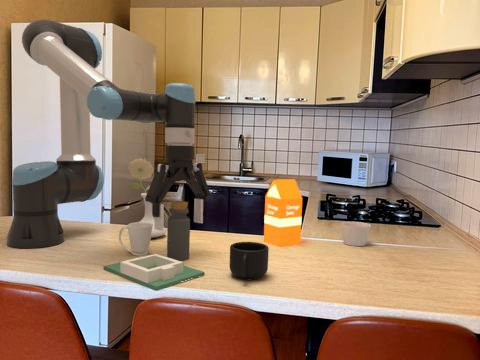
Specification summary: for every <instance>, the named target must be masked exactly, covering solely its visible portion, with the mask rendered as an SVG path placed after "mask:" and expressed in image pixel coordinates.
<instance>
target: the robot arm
mask: <svg viewBox="0 0 480 360" xmlns="http://www.w3.org/2000/svg"><path fill="white" fill-rule="evenodd" d="M21 43H22V48H23V50H24V52H25V53H26V54H27V55H28V57H30V58H31V59H32V60H33V61H34V62H35V63H37V64H38V65H40V66H46V67H47V68H48V69H49V70H51V71H52V72H53V74H55V75H57V77H59V103H60V105H59V106H60V107H59V108H60V111H59V112H60V143H61V144H60V146H61V151H60V152H61V154H60V155H59V156H58V157H57V158H56V161H49V160H48V161H39V162H38V161H35V162H34V161H33V162H27V163H24V164H20V165H17V166H16V167H15V168H14V169H13V171H12V180H11V184H12V209H13V210H12V211H13V217H12V218H13V219H12V221H11V224H10V226H9V230H8V232H7V237H6V245H7V246H8V247H11V248H16V249H17V248H18V249H38V248H46V247H51V246H56V245H59V244H61V243H63V242H64V241H65V232H64V229H63V226H62V223H61V221H60V218H59V215H58V205H63V204H69V203H78V202H79V203H83V202H86V201H91V200H94V199H96V198H97V197H98V196H99V195H100V194H101V192H102V190H103V187H104V183H105V176H104V175H105V174H104V171H102V168H101V167H100V166H99V165H97V164H96V163H97V162H96V158H95V157H94V156H92V154H91V115H92V116H93V117H95V118H98V119H103V120H108V121H111V120H117V121H132V122H137V123H143V124H145V123H146V124H150V123H164V124H165V126H164V127H165V128H164V129H165V131H164V132H165V133H164V135H165V136H164V137H165V138H164V140H165V141H164V142H165V144H167V145H165V146H164V147H165V148H164V149H165V150H164V151H165V153H164V154H165V155H164V158H165V160H166V164H165V163H164V164H163V163H157V164H155V173H154V176H153V178H152V180H151V183H150V185H149V186H150V188H149V189H148V191H147V195H146V198H145V201H147V202H150V203H152V215H153V217H154V229H157V230H161V231H162V230H164V228H165V226H164V225H165V223H164V222H165V220H164V218H165V217H164V215H165V214H164V213H165V211H164V209H165V207H164V205H165V204H164V203H162V202H163V200H164V199H165V197H166V196H167V193H168V192H169V191H170V189H171V187H172V186H173V185H174V184H175V183H177V182H181V181H182V182H183V181H184V182H186V184H187V185H188V187H189V189H191V191H192V192H193V193H194V195H195V197H196V198H193V199H194V201H193V202H194V204H193V222H194V223H197V224H203V223H204V215H203V214H204V210H205V200H207V199H208V197H209V196H211V192H210V189H209V186H208V182H207V179H206V177H205V174H204V171H203V165H202V163H201V162H193V160H195V156H196V155H195V152H196V151H195V146H194V144H195V142H196V141H195V140H196V139H195V133H196V132H195V131H196V130H195V120H196V119H195V115H196V114H195V113H196V97H195V96H196V92H195V87H194V86H193V85H192V84H189V83H184V82H183V83H181V82H172V83H167V84H166V85H165V89H164V92H162V93H146V92H142V91H141V92H140V91H135V90H127V89H123V88H120V87H118V86H117V85H116V84H115V83H113V82H112V81H111V80H110V79H108V78H107V77H106V76H104V75H103V74H102V73H101V72H100V71H98V70H97V68H98V67H99V65H100V62H101V61H102V59H103V58H102V57H103V51H102V50H103V49H102V45H101V43H100V40H99V39H98V37H97V36H96V34H94V33H93V32H91V31H89V30H86V29H84V28H82V27H77V26H72V25H68V24H65V23H60V22H58V21H54V20H51V19H45V18H44V19H37V20H34V21H31V22H30V23H29V24H27V25H26V26H25V28H24V29H23V32H22V35H21Z"/></svg>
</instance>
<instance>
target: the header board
mask: <svg viewBox="0 0 480 360" xmlns="http://www.w3.org/2000/svg"><path fill="white" fill-rule="evenodd" d="M103 270H105V271H106V272H109V273H112V274H114V275H117V276H119V277H121V278H124V279H127V280H129V281H132V282H135V283H137V284H139V285H142V286H144V287H146V288H150V289H152V290H154V291H159V290H163V289H165V288H168V286H169V287H171V286H170V285H172V286H174V285H173V284H175V285H177V284H176V283H179V282H181V281H185V280H188V279H191V278H195V277H198V278H200V277H199V276H201V277H204V276H205V271H202V270H199V269H196V268H194V267H190V266H187V265H184V262H183V261H177V260H174V259H171V258H168V257H167V256H164V255H161V254H158V253H154V254H149V255H148V254H147V255H143V256H140V257H136V258H131V259H127V260H124V261H123V260H122V261H120V262H115V263H111V264H106V265H103ZM203 275H204V276H203ZM195 279H196V278H195ZM191 280H192V279H191ZM188 281H189V280H188ZM185 282H186V281H185ZM179 284H180V283H179Z"/></svg>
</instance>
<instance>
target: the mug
mask: <svg viewBox="0 0 480 360" xmlns="http://www.w3.org/2000/svg"><path fill="white" fill-rule="evenodd" d="M229 247H230V248H229V271H230V272H231V274H232V275H233V276H235V277H237V278H238V279H241V278H242V280H248V279H251V280H257V279H259V278H262V277H264V276H265V275H266V274H267V272H268V269H269V252H270V251H269V249H270V247H269V246H268V245H267V244H265V243H261V242H257V241H255V242H254V241H239V242H234V243H231V244H230V245H229Z"/></svg>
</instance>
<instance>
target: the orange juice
mask: <svg viewBox="0 0 480 360" xmlns="http://www.w3.org/2000/svg"><path fill="white" fill-rule="evenodd" d="M264 197H265V198H264V199H265V200H264V202H265V203H264V217H263V219H264V221H263V222H264V226H263V242H264V243H267V244H270V245H272V246H276V247H278V248H279V247H280V248H281V247H286V246H292V245H293V246H294V245H300V244H301V242H302V241H301V237H302V236H301V235H302V234H301V233H302V219H303V217H302V213H303V196H302V194H301V192H300V189H299V187H298V183H297V182H296V179H295V178H288V179H287V178H286V179H285V178H284V179H273V180H272V183H271V185H270V186H269V188H268V189H267V192H266V194H265V196H264Z"/></svg>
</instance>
